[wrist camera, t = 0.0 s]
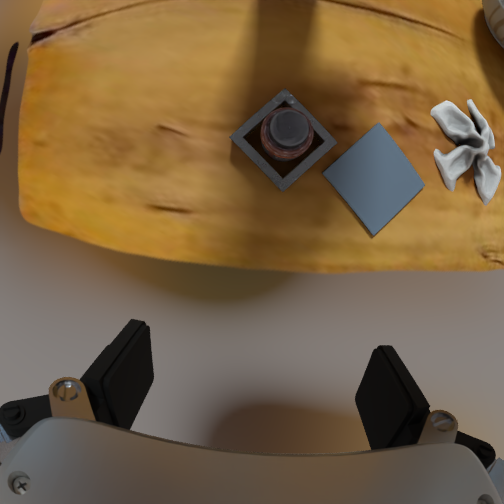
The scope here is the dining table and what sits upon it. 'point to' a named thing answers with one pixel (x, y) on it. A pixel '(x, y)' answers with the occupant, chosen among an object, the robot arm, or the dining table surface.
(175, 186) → the dining table surface
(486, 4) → the decorative bowl
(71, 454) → the robot arm
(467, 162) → the cloth
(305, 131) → the supplement bottle
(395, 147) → the board
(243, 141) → the collar
